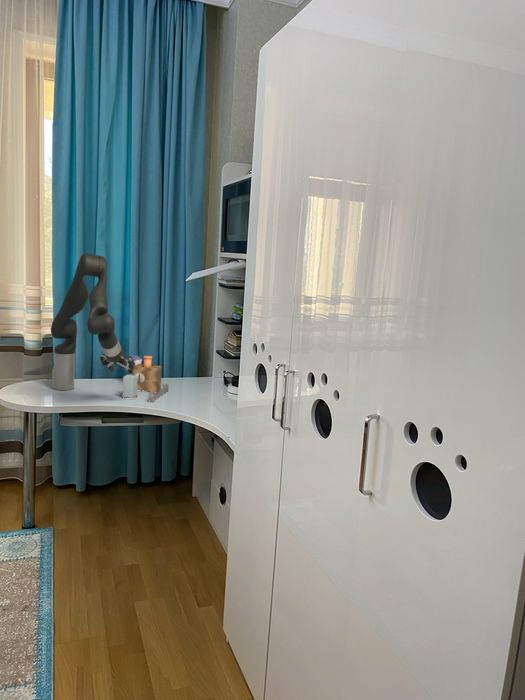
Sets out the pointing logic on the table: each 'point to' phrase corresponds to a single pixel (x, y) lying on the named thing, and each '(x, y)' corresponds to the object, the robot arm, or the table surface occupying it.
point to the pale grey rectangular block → (130, 386)
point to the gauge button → (147, 361)
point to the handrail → (158, 393)
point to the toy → (136, 360)
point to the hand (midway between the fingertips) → (121, 370)
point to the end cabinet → (148, 377)
